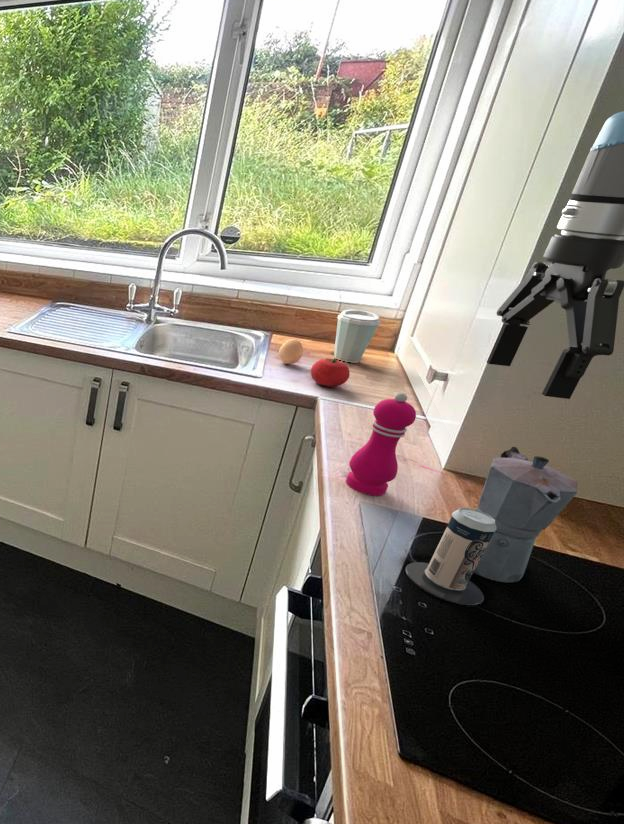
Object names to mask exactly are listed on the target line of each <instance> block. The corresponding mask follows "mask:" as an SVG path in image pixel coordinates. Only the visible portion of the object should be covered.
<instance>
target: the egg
mask: <svg viewBox="0 0 624 824" xmlns="http://www.w3.org/2000/svg"><path fill="white" fill-rule="evenodd" d="M303 354H304V347H303V344H302V342H301V341H300V340H298V339H296V338H290V339H288V340H285V342H283V344H281V346H280V348H279V349H278V358H279V360H280V361H281V362H282V363H283V364H285V365H295V364H297V363H298V362H299V361H300V360H301V359H302V357H303Z"/></svg>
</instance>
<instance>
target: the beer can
mask: <svg viewBox="0 0 624 824" xmlns="http://www.w3.org/2000/svg"><path fill="white" fill-rule="evenodd" d="M496 529H497V527H496V523H495V520H494V519H493V518H492V517H491V516H490V515H488V514H485V513H483V512H481V511H479V510H477V509H474V508H470V507H459V509H456V510H454V511H453V512H451V517H450V520H449V521H448V524H447V526H446V527H445V530H444V532H443V535H442V536H441V539H440V540H439V542H438V544H437V547H436V548H435V551H434V553H433V555H432V556H431V559H430V561H429V565H428V567H427V569H426V570H425V574H426V575H427V577H428V578H429V579H430V580H431V581H432V582H434V583H435V584H437V585H439V586H441V587H443V588H446V589H450V590H464V589H465V588H466V585H467V583H468V581H470V579H471V578H472V576H473V574H474V573H473V572H474V570H475V568H476V566H477V564H478V562H479V560H480V558H481V556H482V555H483V553H484V551H485V549H486V547H487V545H488V543H489V541H490V539H491V537H492V535H493V534H494V532H495V531H496Z"/></svg>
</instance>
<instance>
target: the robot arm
mask: <svg viewBox="0 0 624 824" xmlns="http://www.w3.org/2000/svg"><path fill="white" fill-rule="evenodd" d="M556 228H557V230H559V231H561V232H560V233H555V234H554V235H552V236H551V238H550V240H549V242H548V244H547V247H546V249H545V251H544V253H543V256H542V257H543V259H544V260H545V261H547V262H544V261H543V262H542V261H534V262H533V264H532V265H531V267H530V269H529V271H528V273H527V275H526V276H525V277H524V278H523V279H522V281H520V283H519V284H518V286H516V288H515V289H514V290H513V291H512V292H511V293H510V295H509V296H508V297H507V299H506V300H505V301H504V302H503V303H502V304H501V305H500V307H498V308H497V310H496V316H497V317H501V323H503V324H502V326H501V327H500V331H499V333H498V335H497V337H496V340H495V342H494V344H493V346H492V348H491V351H490V353H489V356H488V358H487V360H486V361H485V362H486V364H488V365H494V366H503V367H511V365H512V363H513V361H514V359H515V356H516V355H517V352H518V350H519V348H520V346H521V343H522V341H523V339H524V337H525V335H526V333H527V330H528V326H530V325H531V321H530V320H531V319H533V318H534V317H536V315H539V313H541V312H542V311H544V310H546V308H548V307H549V306H551V304H553V303H554V302H555V303H557V304H560V307H561V308H562V309H563V310H565V316H566V324H567V335H568V346H569V347H566V348H564V349H562V352H561V354H560V356H559V358H558V360H557V362H556V364H555V366H554V368H553V370H552V372H551V374H550V376H549V378H548V380H547V382H546V384H545V387H544V388H543V391H542V393H541V395H542V396H544V397H549V398H558V399H565V400H570V399H571V398H572V395H573V394H574V392H575V390H576V388H577V386H578V384H579V382H580V380H581V379H582V377H584V375H585V374H586V371H587V369H588V367H589V366H590V364H591V361H592V360H593V359H594V357H597V356H609V357H610V356H611V355H613V353H614V349H615V341H616V333H617V321H618V314H619V304H620V297H621V295H622V293H623V290H624V280H622V279H613V278H612V279H609V278H606V275H607V272H608V271H610V270H611V269H612V270H613V269H619V268H621V267H622V266H623V265H624V110H623V111H619V112H616V113H614V114H613V115H611V116H610V117H608V118H607V119H606V120H605V122H604V124H603V126H602V127H601V129H600V131H599V133H598V135H597V137H596V139H595V141H594V142H593V145H592V147H590V150H589V153H588V155H587V157H586V159H585V162H584V164H583V166H582V168H581V171H580V173H579V175H578V178H577V180H576V183H575V186H574V187H573V189H572V192H571V194H570V197H569V200H568V202H567V204H566V206H565V208H563V209H562V211H561V217H560V219H559V221H558V223H557V226H556Z"/></svg>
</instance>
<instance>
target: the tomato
mask: <svg viewBox="0 0 624 824" xmlns="http://www.w3.org/2000/svg"><path fill="white" fill-rule="evenodd" d="M349 368H350V367H348V365H347V364H346V362H343V361H339V360H336V358H334V357H333V358H327V357H326V358H322V359H321V358H320V359H319V360H317V361H316V362H314V364H313V365H311V369H310V376H311V378H312V380H313V381H314V382H315V383H317V384H318V385H321V386H323V387H328V388H336V387H339V386H342V385H343V384H345V383H346V382H347V381H348V380H349V379H350V375H351V373H350V369H349Z"/></svg>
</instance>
